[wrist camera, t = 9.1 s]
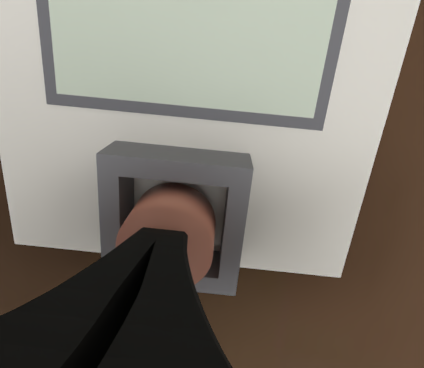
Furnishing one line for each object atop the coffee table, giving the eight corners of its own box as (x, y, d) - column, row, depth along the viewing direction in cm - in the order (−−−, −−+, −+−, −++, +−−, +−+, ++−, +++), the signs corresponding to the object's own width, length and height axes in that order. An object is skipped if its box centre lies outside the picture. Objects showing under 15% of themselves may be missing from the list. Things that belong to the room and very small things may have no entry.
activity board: (25, 234, 14) (-16, 269, 12) (-70, -406, 8) (-207, -620, 5) (334, 266, 14) (356, 308, 12) (507, -363, 7) (642, -568, 5)
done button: (134, 251, 12) (116, 286, 10) (133, 178, 11) (113, 202, 9) (212, 259, 12) (208, 295, 10) (219, 186, 11) (217, 212, 9)
